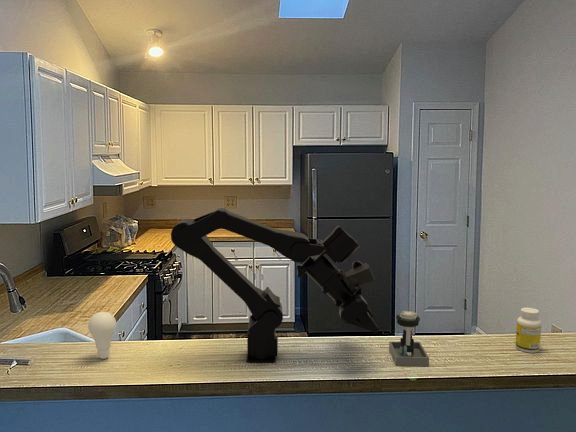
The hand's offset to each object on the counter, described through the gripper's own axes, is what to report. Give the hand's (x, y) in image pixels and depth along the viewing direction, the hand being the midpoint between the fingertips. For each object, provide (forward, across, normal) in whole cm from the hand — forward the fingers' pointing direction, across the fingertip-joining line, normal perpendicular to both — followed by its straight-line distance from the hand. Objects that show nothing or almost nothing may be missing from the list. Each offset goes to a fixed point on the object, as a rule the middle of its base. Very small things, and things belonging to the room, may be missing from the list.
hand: (374, 324), depth 124 cm
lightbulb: (-38, -3, +50) cm, 63 cm away
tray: (+11, 0, 0) cm, 11 cm away
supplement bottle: (+32, +6, -21) cm, 39 cm away
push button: (+11, 0, 0) cm, 11 cm away
